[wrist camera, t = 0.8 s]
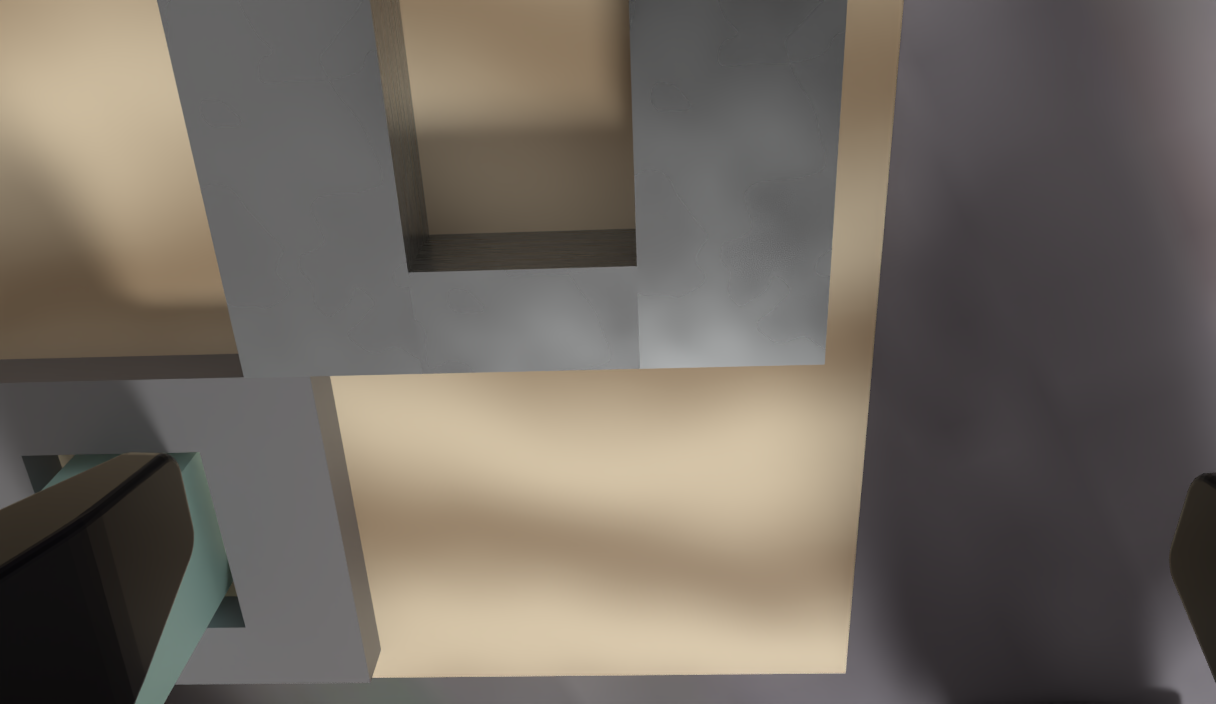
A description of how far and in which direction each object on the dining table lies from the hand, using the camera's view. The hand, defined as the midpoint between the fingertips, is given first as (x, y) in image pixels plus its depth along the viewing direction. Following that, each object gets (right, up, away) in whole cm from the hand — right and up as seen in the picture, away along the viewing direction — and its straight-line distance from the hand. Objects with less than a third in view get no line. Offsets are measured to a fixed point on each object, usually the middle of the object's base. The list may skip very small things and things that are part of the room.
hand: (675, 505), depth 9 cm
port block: (-2, +7, +12) cm, 14 cm away
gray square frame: (-12, -2, +17) cm, 21 cm away
